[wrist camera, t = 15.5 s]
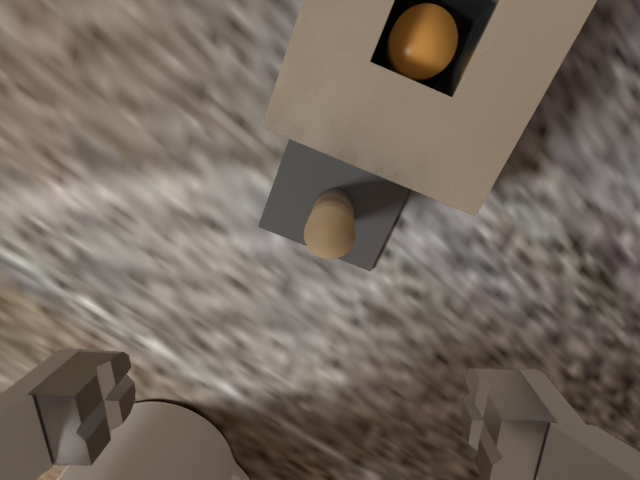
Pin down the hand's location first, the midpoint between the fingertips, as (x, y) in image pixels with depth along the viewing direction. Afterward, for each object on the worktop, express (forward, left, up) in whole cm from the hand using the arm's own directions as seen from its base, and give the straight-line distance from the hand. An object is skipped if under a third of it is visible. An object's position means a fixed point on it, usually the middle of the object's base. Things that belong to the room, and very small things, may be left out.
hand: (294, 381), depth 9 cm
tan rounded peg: (0, 0, -21) cm, 21 cm away
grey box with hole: (+12, -1, -21) cm, 24 cm away
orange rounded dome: (+12, -1, -19) cm, 23 cm away
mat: (0, 0, -21) cm, 21 cm away
